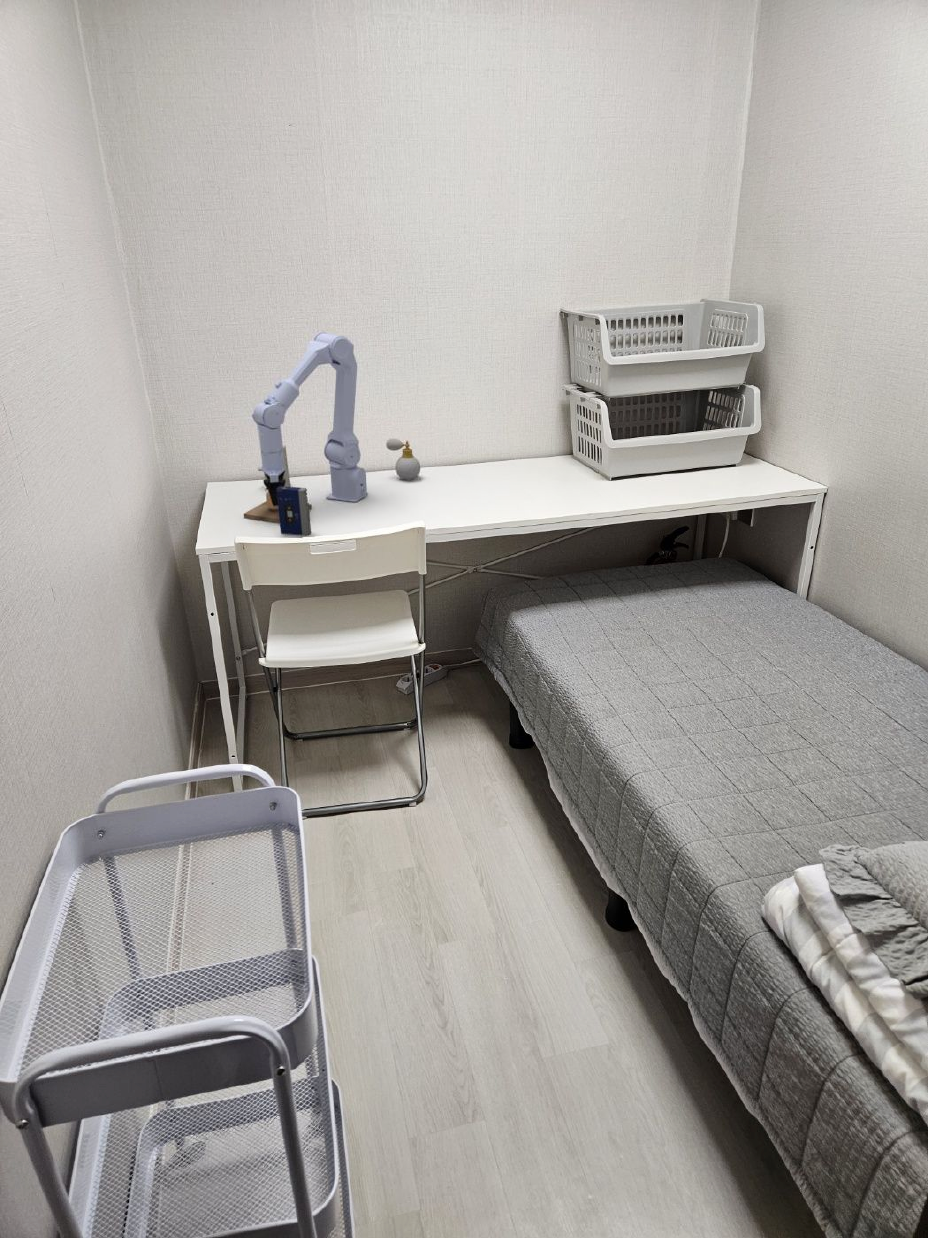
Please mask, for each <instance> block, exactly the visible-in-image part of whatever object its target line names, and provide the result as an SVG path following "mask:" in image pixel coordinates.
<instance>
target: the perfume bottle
mask: <svg viewBox="0 0 928 1238" xmlns="http://www.w3.org/2000/svg"><path fill="white" fill-rule="evenodd" d="M385 444H386V448H387V449H388V450H390V451H395V452H396V451H399V450H401V449H402V456H400V457H399V458H398V460H396V463H395V472H396V475H397V476H398V477H399V478H400V479H402V480H404V479H405V481H411V480H410V479H412V480H414V479H416V478H417V477H418V476H419V474H420V473H421V464H420V461H419V460H418V458H417V457H415V456H414V454H413V449H412V448H410V446H411V445H410V443H409V440H406V441H405V443H403V441H401V440H400V439H398V438H389V439H388V440H387V442H386V443H385ZM404 447H405V448H404Z"/></svg>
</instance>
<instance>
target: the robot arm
mask: <svg viewBox="0 0 928 1238" xmlns="http://www.w3.org/2000/svg"><path fill="white" fill-rule="evenodd" d="M354 346H355V345H354V344H353V343H352V342H351V341H350V340H349V338H348V337H346V336H344V335H338V334H331V333H327V332H325V331H322V332H321V331H320V332H318V333H317V334H315V335H314V337H313V339H312V340H311V341H310V342H309V343H308V346H307V350H306V351H305V353H304V354H303V356H302V358H301V359H300V360H299V362H298V363H297V365H295V368H294V369H293V371H292V372H291V373H290V375H289V376H288V378H281V379H280V380H279V381H276V382H275V383H274V388H273V389H272V390H271V392H269V394H268V396H265V397H264V399H263V402H261V403H258V404H257V405H256V406H255V407H254V408H253V409H254V410H253V413H252V414H251V417H252V420H253V421H254V423H255V424H256V426H257V431H258V439H259V447H260V448H259V449H260V456H261V457H260V458H261V464H262V465H261V466H258V467H257V471H258V472H263V474H264V476H265V475H266V477H267V479H265V478H264V479H263V485H264V486H265V487H266V488H267V489H268V490H267V489H266V490H267V492H269V494H270V497H271V501H272V504H273V506H278V500H277V491H276V489H277V488H278V487H279V486H284V485H285V482H286V479H283V476H284V473H285V470H286V466H285V464H284V454H283V436H282V425H283V424H284V422H285V415H286V413H287V411H288V409H289V408H290V407H291V406H292V405H293V403H294V402H295V400H296V399H298V396H300V390H299V389H300V387H301V386H302V384H303V383H304V382H305V381H306V380H307V379H308V377H310V375H311V374H312V373H313V372H314V371H315V370H316V369H317V368H318V367H319V366H321V365H322V366H323V365H327V364H328V365H330V366H331V367H332V368H333V369H334V370H335V371H336V373H335V389H334V406H333V407H334V408H333V422H332V430H331V431H330V432H329V433H328V434H327V440H326V443H325V445H324V448H323V454H324V457H325V458H326V460H328V462H329V463H328V464H329V470H330V483H331V484H330V485H331V493H330V494H328V495H327V496H326V497H325V498H326V499H329V500H335V501H344V502H351V503H357V502H358V501H360V500H361V499H363V498H364V497H366V496H368V495H369V492H368V487H367V473H366V470H365V469H364V468H362V467H360V466H358V465H359V463H360V460H361V451H360V448H359V443H360V442H359V441H360V440H359V439H358V437H357V435H355V432H354V423H355V421H354V420H355V410H356V409H355V407H356V391H357V377H358V362H357V360H356V359H357V358H356V357H355V353H354Z"/></svg>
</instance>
